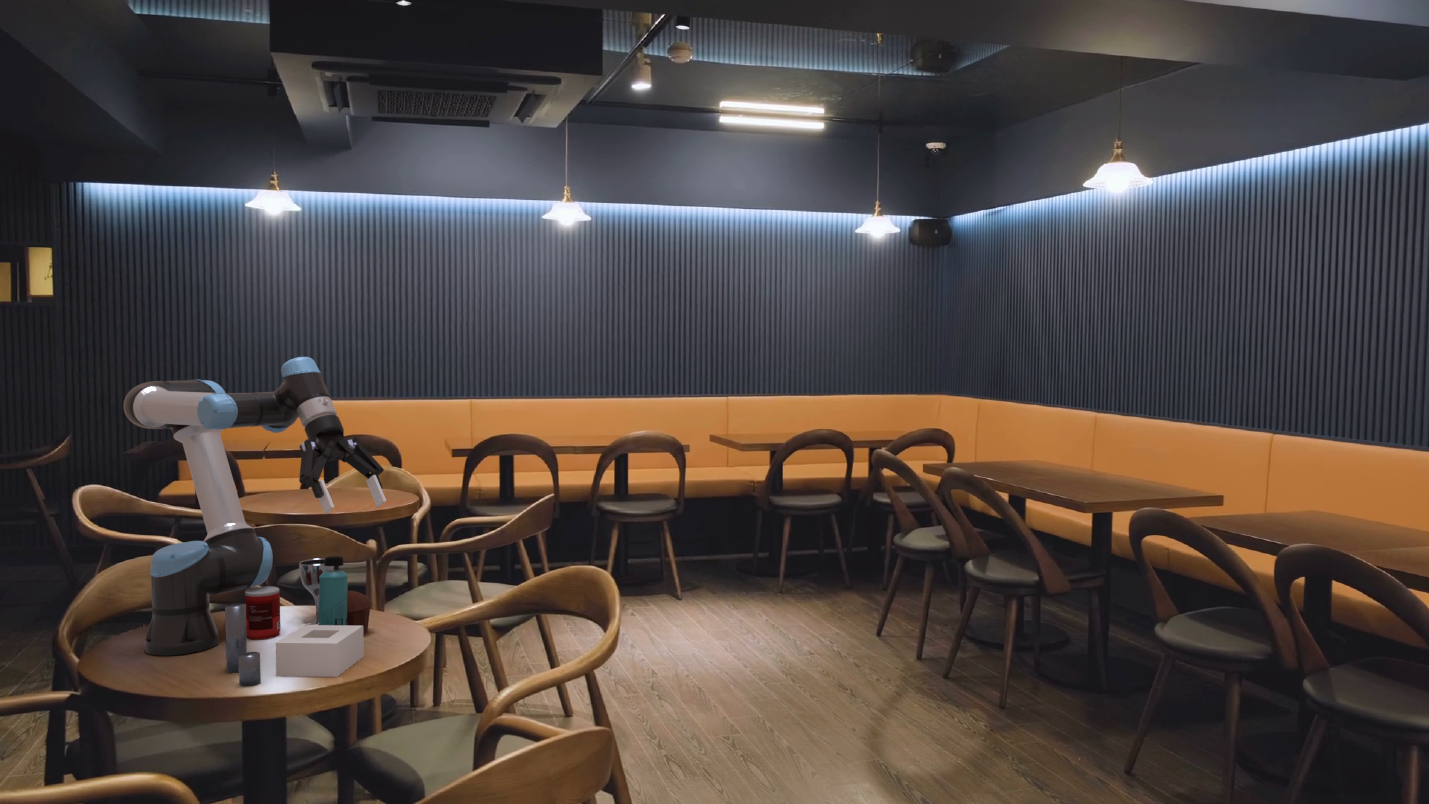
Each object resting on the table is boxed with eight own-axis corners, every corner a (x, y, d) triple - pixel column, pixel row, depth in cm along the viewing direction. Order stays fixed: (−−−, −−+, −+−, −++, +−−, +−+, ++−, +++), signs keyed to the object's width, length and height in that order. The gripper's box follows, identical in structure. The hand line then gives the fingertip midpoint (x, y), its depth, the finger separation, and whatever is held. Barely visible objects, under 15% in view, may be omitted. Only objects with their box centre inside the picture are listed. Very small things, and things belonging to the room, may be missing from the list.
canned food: (270, 629, 250) (269, 584, 250) (287, 635, 245) (285, 589, 245) (239, 636, 245) (238, 590, 244) (255, 642, 239) (254, 595, 239)
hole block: (276, 675, 214) (275, 642, 214) (306, 656, 228) (305, 625, 228) (337, 676, 213) (336, 643, 213) (363, 656, 227) (363, 625, 227)
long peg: (222, 673, 216) (221, 607, 215) (232, 667, 220) (231, 603, 219) (241, 674, 215) (239, 608, 215) (251, 668, 219) (249, 603, 219)
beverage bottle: (333, 646, 232) (336, 557, 234) (310, 645, 235) (312, 556, 236) (353, 642, 238) (355, 555, 240) (330, 640, 241) (332, 554, 242)
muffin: (314, 641, 240) (312, 599, 240) (331, 628, 251) (329, 587, 251) (365, 639, 240) (363, 597, 240) (380, 626, 251) (377, 586, 251)
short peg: (235, 686, 207) (234, 657, 207) (245, 680, 211) (244, 651, 211) (254, 686, 207) (253, 657, 207) (264, 680, 211) (263, 651, 211)
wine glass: (307, 626, 253) (306, 566, 252) (296, 620, 259) (294, 561, 258) (339, 620, 258) (338, 561, 257) (327, 614, 264) (326, 557, 263)
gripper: (279, 414, 212) (316, 504, 207) (376, 411, 234) (411, 493, 228) (260, 433, 216) (295, 522, 210) (357, 428, 237) (392, 509, 232)
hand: (356, 507), depth 219 cm, fingers open, 13 cm apart
